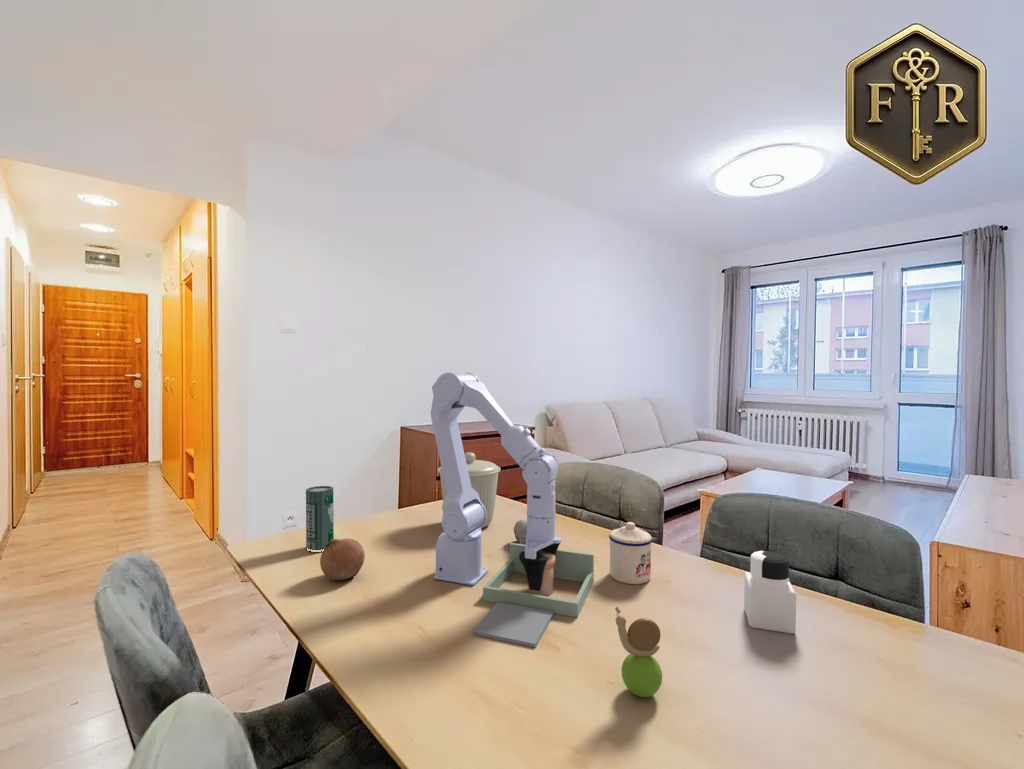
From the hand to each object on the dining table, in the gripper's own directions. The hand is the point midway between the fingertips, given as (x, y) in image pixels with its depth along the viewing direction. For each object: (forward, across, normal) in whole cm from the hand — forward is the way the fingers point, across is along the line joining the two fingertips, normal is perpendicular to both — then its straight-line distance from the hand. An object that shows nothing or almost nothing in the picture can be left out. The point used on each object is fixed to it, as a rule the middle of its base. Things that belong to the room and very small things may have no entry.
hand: (540, 581), depth 97 cm
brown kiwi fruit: (+2, -9, +42) cm, 43 cm away
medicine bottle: (+2, +3, -42) cm, 42 cm away
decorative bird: (+2, +20, +8) cm, 22 cm away
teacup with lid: (+2, +15, -16) cm, 22 cm away
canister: (+2, +33, +32) cm, 46 cm away
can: (+2, +3, +58) cm, 59 cm away
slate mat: (+2, -14, 0) cm, 14 cm away
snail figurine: (+2, -25, -22) cm, 33 cm away
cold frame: (+2, 0, 0) cm, 2 cm away
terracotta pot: (+2, 0, 0) cm, 2 cm away
